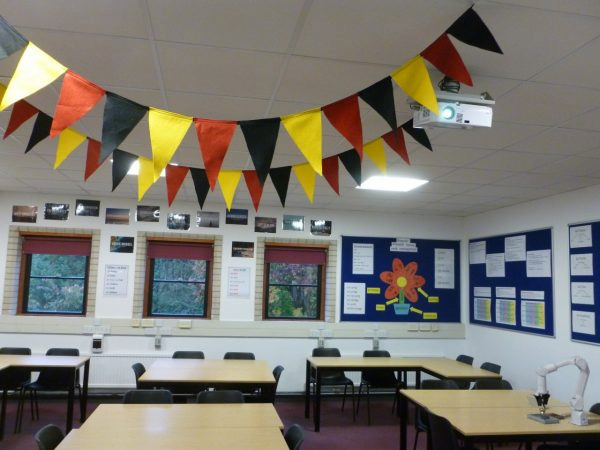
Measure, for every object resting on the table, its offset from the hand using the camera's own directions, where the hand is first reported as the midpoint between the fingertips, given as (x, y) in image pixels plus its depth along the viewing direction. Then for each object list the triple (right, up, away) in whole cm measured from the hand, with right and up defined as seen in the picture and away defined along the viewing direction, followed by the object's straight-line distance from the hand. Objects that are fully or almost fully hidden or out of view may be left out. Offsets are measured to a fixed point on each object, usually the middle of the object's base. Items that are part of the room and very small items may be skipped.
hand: (542, 405), depth 331 cm
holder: (+11, -11, +6) cm, 16 cm away
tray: (0, -10, -1) cm, 10 cm away
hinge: (+15, -16, +38) cm, 44 cm away
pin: (0, -9, -1) cm, 9 cm away
